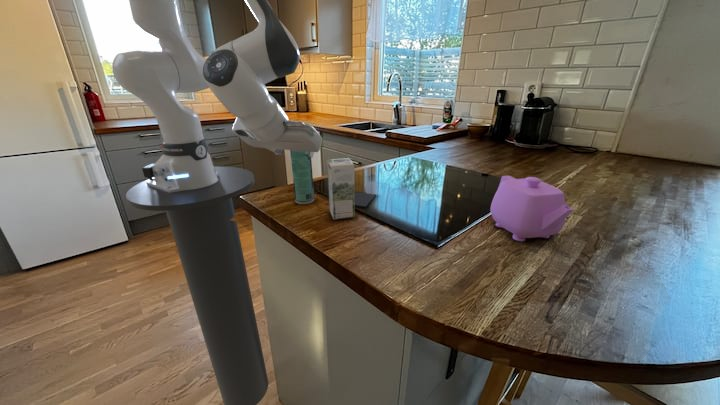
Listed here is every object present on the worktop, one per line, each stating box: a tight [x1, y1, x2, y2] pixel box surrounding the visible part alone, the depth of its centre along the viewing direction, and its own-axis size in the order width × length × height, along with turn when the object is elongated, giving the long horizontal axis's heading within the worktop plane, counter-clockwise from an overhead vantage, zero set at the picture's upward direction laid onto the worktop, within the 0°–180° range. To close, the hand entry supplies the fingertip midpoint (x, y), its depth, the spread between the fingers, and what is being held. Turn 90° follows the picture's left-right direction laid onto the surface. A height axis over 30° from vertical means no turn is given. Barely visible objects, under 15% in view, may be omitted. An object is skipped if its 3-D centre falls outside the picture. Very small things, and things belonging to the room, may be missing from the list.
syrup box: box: [326, 157, 356, 221], centre depth 75 cm, size 6×6×14 cm
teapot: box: [489, 174, 574, 242], centre depth 66 cm, size 20×12×13 cm, turn 12°
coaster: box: [355, 191, 377, 209], centre depth 86 cm, size 9×9×1 cm
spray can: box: [289, 150, 315, 205], centre depth 82 cm, size 6×6×20 cm
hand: (295, 154), depth 78 cm, fingers open, 8 cm apart
